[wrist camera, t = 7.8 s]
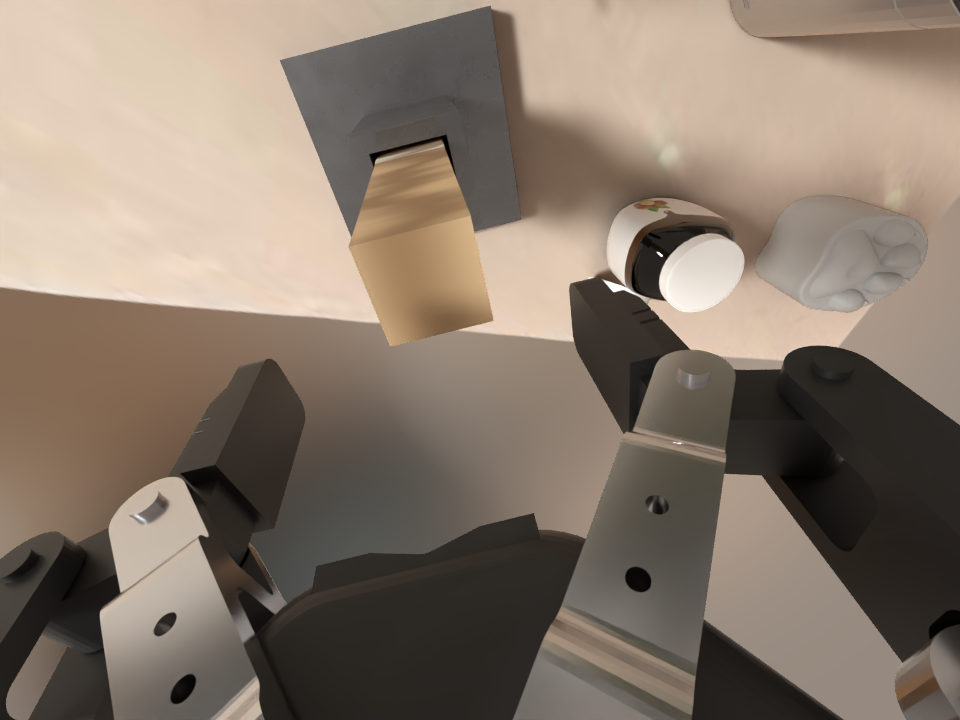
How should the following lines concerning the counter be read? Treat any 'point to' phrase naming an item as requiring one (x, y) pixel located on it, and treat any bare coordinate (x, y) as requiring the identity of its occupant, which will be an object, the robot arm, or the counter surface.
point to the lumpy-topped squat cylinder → (841, 253)
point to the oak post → (419, 246)
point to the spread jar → (674, 253)
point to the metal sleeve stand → (412, 109)
